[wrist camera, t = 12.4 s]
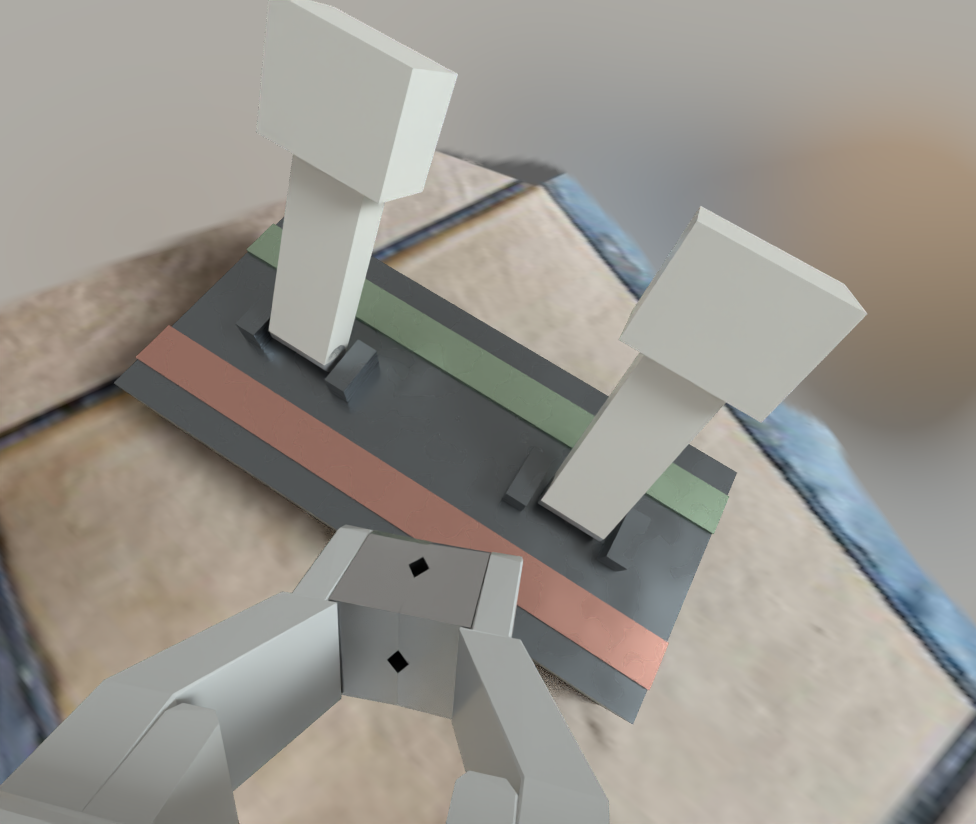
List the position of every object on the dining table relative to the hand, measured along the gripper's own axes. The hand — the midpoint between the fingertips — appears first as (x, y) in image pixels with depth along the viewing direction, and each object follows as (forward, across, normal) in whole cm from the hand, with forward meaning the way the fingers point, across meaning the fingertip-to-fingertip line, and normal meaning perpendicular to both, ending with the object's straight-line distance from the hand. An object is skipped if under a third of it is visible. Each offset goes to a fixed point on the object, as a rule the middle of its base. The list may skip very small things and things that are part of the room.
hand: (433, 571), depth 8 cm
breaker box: (+17, -4, -7) cm, 19 cm away
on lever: (+14, -10, -1) cm, 17 cm away
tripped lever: (+12, +3, -6) cm, 14 cm away
